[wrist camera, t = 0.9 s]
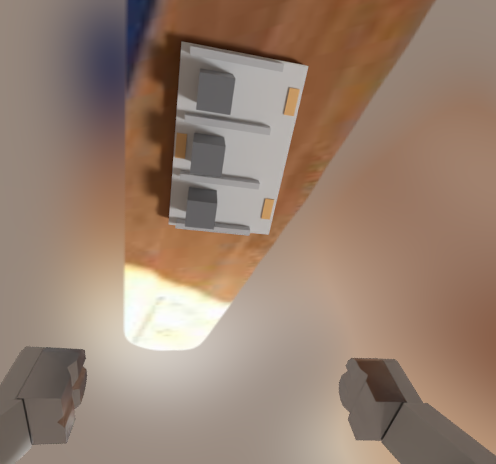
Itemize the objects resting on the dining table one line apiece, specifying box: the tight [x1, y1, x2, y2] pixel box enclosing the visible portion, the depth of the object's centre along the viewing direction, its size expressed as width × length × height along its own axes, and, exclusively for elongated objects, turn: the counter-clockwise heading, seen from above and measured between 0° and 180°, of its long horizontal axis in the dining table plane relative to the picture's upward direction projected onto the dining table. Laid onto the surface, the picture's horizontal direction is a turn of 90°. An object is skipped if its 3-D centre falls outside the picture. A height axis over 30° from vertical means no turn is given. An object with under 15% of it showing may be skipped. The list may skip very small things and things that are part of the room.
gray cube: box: [196, 68, 236, 115], centre depth 37 cm, size 4×4×4 cm
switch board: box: [169, 41, 308, 236], centre depth 42 cm, size 22×14×3 cm, turn 170°
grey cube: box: [185, 187, 217, 229], centre depth 43 cm, size 4×4×4 cm
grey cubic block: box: [190, 133, 226, 177], centre depth 40 cm, size 4×4×4 cm
